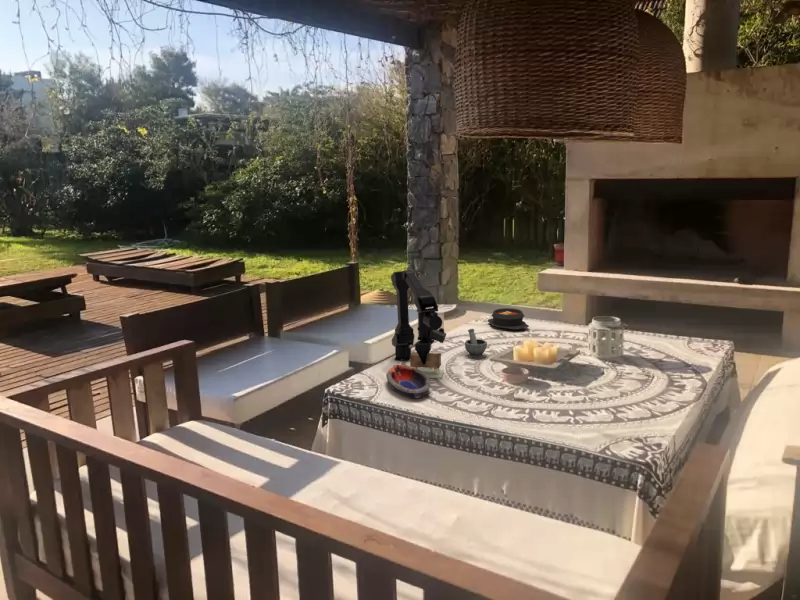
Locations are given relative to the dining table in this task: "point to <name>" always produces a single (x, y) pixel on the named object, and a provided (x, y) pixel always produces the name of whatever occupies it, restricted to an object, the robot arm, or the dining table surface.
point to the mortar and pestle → (475, 346)
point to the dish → (408, 381)
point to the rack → (432, 372)
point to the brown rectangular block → (431, 361)
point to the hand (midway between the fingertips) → (425, 360)
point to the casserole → (508, 319)
